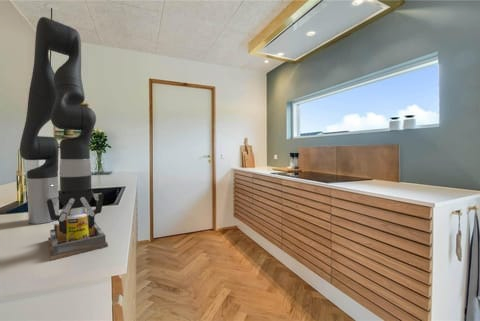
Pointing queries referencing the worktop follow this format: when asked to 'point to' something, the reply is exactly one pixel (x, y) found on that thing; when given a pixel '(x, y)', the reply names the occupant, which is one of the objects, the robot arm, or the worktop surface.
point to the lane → (75, 244)
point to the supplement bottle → (77, 224)
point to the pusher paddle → (63, 236)
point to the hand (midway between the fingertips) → (77, 230)
